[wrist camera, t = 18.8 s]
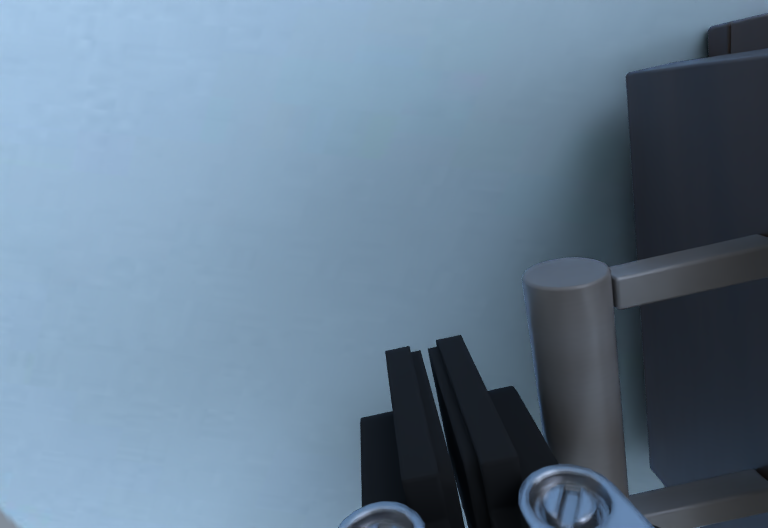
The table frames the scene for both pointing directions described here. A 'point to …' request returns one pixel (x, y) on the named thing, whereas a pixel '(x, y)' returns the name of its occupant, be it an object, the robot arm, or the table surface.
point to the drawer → (674, 303)
